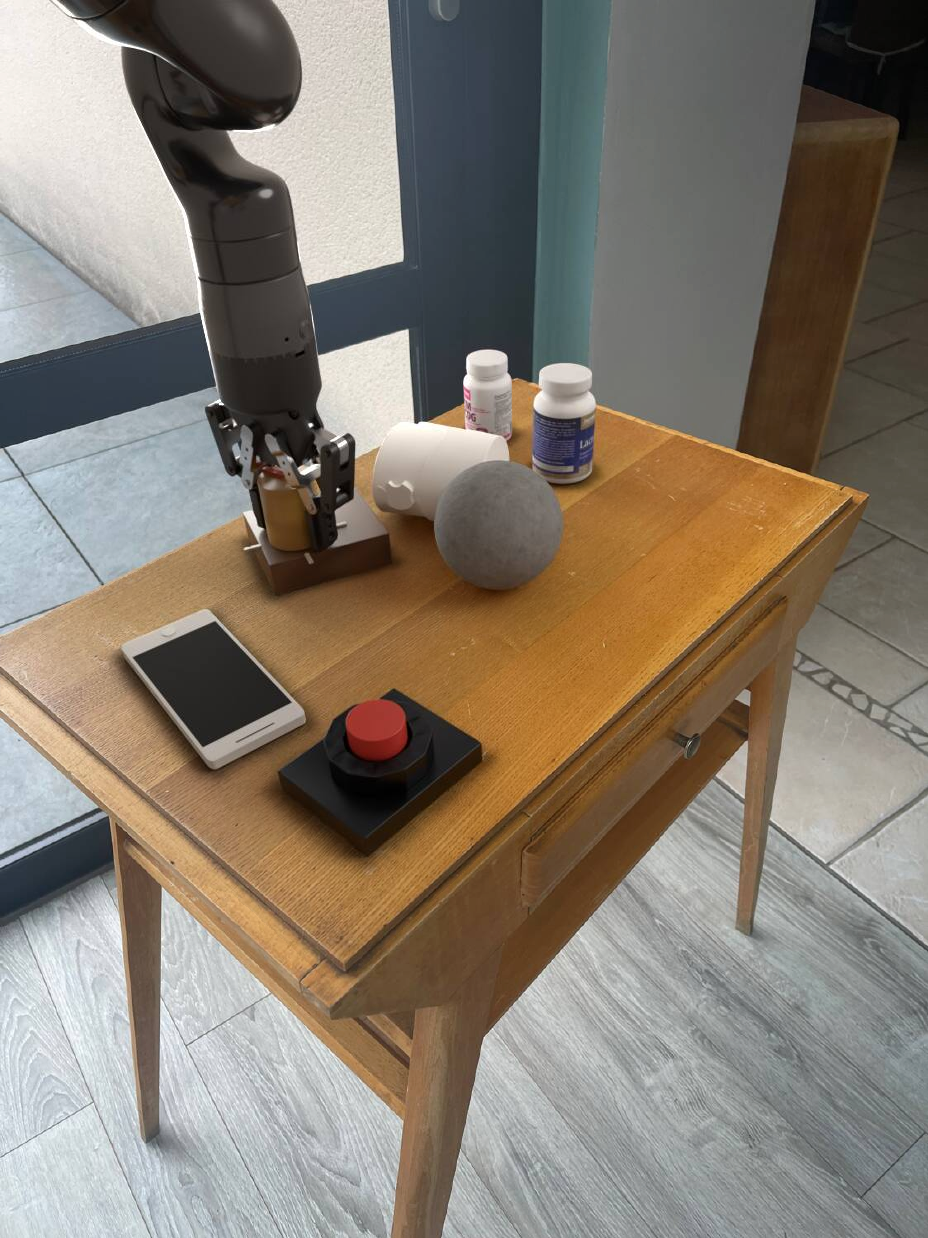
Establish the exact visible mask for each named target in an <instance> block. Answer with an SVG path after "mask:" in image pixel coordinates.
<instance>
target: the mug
mask: <svg viewBox="0 0 928 1238" xmlns="http://www.w3.org/2000/svg"><path fill="white" fill-rule="evenodd" d="M493 460H503V461H510V451H509V446H508V442H507V441H506V440H505V439H504V437H502V436H499V435H494V434H488V433H485V432H481V431H475V430H466V429H465V428H461V427H454V426H449V425H444V424H439V423H433V422H427V421H420V422H418V423H413V422H408V421H402V422H399V423H397V424H395V425H394V426H393V427H392V428H390V430H389V431H388V432H387V434H386V435H385V437H384V438H383V441H382V443H381V445H380V447H379V449H378V452H377V454H376V458H375V462H374V465H373V471H372V480H371V481H372V482H371V490H372V498H373V503H374V504H375V506H376V508H377V509H378V510H380V511H381V512H383V513H390V514H400V515H406V516H415V517H416V516H417V517H424V518H426V519H427V520H429V521H431V522H434V520H435V513H436V509H437V505H438V502H439V500H440V498H441V496H442V494H443V492H444V490H445V489H446V487H447V486H448V485H449V484H450V482H451V481H452V480H453V479H454V478H455V477H456V476H458V475H459V474H460V473H461V472H463V471H464V470H466V469H468V468H470V467H472V466H474V465H476V464H479V463H482V462H487V461H493Z"/></svg>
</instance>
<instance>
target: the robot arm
mask: <svg viewBox="0 0 928 1238" xmlns="http://www.w3.org/2000/svg"><path fill="white" fill-rule="evenodd" d="M48 1H49V2H50V3H52V4H53V5H54V6H55V7H56V8H57V9H58V10H60V12H62V13H63V14H64V15H66V16H67V17H68V18H69V19H70V20H71V21H72V22H73V23H74V24H76V25H77V26H79V28H82V29H83V30H84V31H85V32H87V33H89V34H90V35H92V36H93V37H95V38H97V39H99V40H101V41H104V42H106V43H109V44H112V45H117V46H121V47H120V52H121V53H120V55H121V68H122V75H123V79H124V84H125V87H126V91H127V94H128V98H129V99H130V103H131V105H132V108H133V110H134V112H135V115H136V118H137V120H138V122H139V124H140V126H141V128H142V131H143V133H144V134H145V136H146V139H147V141H148V142H149V145H150V147H151V149H152V151H153V153H154V155H155V158H156V159H157V161H158V164H159V166H160V168H161V171H162V172H163V175H164V177H165V179H166V181H167V183H168V185H169V187H170V189H171V191H172V193H173V194H174V197H175V199H176V201H177V203H178V205H179V207H180V210H181V211H182V215H183V219H184V223H185V230H186V234H187V235H186V236H187V239H188V243H189V244H188V245H189V248H190V254H191V258H192V262H193V267H194V272H195V276H196V283H197V291H198V293H197V294H198V304H199V305H198V306H199V312H200V317H201V321H202V327H203V331H204V335H205V339H206V344H207V350H208V353H209V359H210V362H211V367H212V371H213V372H212V373H213V377H214V381H215V386H216V390H217V395H218V398H219V399H218V400H217V401H214V402H213V403H210V404H208V405H206V406H205V407H204V413H205V416H206V419H207V421H208V425H209V427H210V430H211V434H212V435H213V438H214V443H215V444H216V447H217V451H218V453H219V456H220V458H221V462H222V465H223V467H224V470H225V472H226V473H227V475H228V476H230V477H236V476H238V477H239V478H240V479H241V483H242V485H243V486H244V488H245V489H246V490H248V493H249V499H250V503H251V508H252V510H253V513H254V515H255V517H256V520H257V525H258V527H260V528H263V529H265V530H267V528H266V523H265V518H264V513H263V508H262V503H261V498H260V493H259V488H258V483H257V480H258V477H259V476H260V474H261V473H262V469H263V468H264V467H266V466H268V467H271V468H272V467H275V466H278V467H279V468H281V469H282V471H283V473H284V476H285V478H286V480H287V482H288V484H289V486H290V487H292V488H296V489H297V491H298V493H299V495H300V497H301V499H302V501H303V504H304V506H305V508H306V510H307V511H306V512H305V516H306V522H307V528H308V533H309V539H310V545H311V549H313V550H315V551H317V552H322V551H324V550H325V549H327V548H328V547H330V546H331V545H333V544H334V543H335V541H336V540H337V538H338V531H337V525H336V517H335V511H336V510H337V509H338V508H340V507H341V506H343V505H344V504H346V503H348V502H350V501H351V500H353V499H354V486H355V479H356V478H355V474H356V445H357V444H356V440H355V437H354V436H353V435H352V434H351V433H349V432H345V433H343V434H341V435H340V436H338V435H336V434H335V433H333V432H331V431H328V429H327V430H326V429H325V424H324V422H323V420H322V418H321V416H320V413H319V411H318V409H317V407H318V406H317V404H318V399H319V397H320V393H321V391H322V387H323V380H322V373H321V367H320V360H319V354H318V346H317V339H316V331H315V325H314V319H313V312H312V305H311V304H312V303H311V299H310V294H309V290H308V286H307V282H306V279H305V276H304V272H303V267H302V263H301V255H300V249H299V242H298V241H299V240H298V234H297V228H296V221H295V214H294V207H293V203H292V198H291V194H290V190H289V187H288V185H287V183H286V182H285V180H284V178H283V177H282V176H280V175H279V174H278V173H276V172H274V171H272V170H269V169H268V168H265V167H264V166H263V167H262V166H261V165H258V164H255V163H253V162H251V161H249V160H247V159H246V158H244V156H242V155H240V153H239V152H238V151H237V149H236V147H235V145H234V143H233V141H232V139H231V138H230V135H229V133H228V132H242V133H243V132H244V133H245V132H246V133H253V132H254V133H255V132H261V131H267V130H270V129H273V128H275V127H277V126H279V125H280V124H282V123H283V122H284V121H285V120H286V119H287V118H288V117H289V116H290V115H291V113H292V112H293V111H294V109H295V108H296V106H297V103H298V101H299V99H300V95H301V91H302V85H303V69H302V68H303V67H302V58H301V53H300V49H299V46H298V42H297V40H296V37H295V35H294V33H293V30H292V28H291V26H290V24H289V22H288V20H287V19H286V17H285V15H284V14H283V12H282V11H281V10H280V7H278V5H277V4H276V3H275V1H274V0H48ZM236 444H237V446H238V448H239V451H240V453H239V455H238V456H236V455H235V452H234V450H233V447H234V446H235V445H236ZM309 461H311V465H310V466H308V469H306V470H304V471H303V472H301V473H300V472H299V470H298V467H300V466H302V465H304V466H305V464H307V463H309ZM313 480H315V483H316V485H317V487H318V489H319V492H317V494H316V495H315V494H314V492H313V489H312V487H311V482H312V481H313Z"/></svg>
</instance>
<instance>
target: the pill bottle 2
mask: <svg viewBox="0 0 928 1238" xmlns="http://www.w3.org/2000/svg"><path fill="white" fill-rule="evenodd" d="M538 375H539V376H538V386H539V388H540V391H539V392H537V394H536V395H535V397H534V399H533V405H532V406H533V407H532V456H531V457H532V458H531V461H532V462H531V463H532V464H531V465H532V470H534V471H535V472H536V473H538V474H539V475H540V476H542V477H543V478H544V479H545V481H546V482H547V483H551V484H557V485H570V484H576V483H578V482H582V481H583V480H586V478H588V477H589V476H590V475H591V473H592V472H593V464H594V463H593V461H594V445H595V426H596V413H597V412H596V410H597V404H596V399H595V396H594V395H593V393H592V392H590V391H589V390H591V387H592V385H593V384H592V382H593V373H592V370H591V369H590V368H588V367H586V366H584V365H582V364H578V363H577V364H576V363H572V362H571V363H570V362H567V363H566V362H559V363H552V364H549V365H546V366H544V367H543V368H541V369H540V370H539V374H538Z"/></svg>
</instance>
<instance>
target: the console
mask: <svg viewBox="0 0 928 1238" xmlns="http://www.w3.org/2000/svg"><path fill="white" fill-rule="evenodd" d="M242 516H243V520H244V525H245V529H246V535H247V539H248V542H249V544H250V545H249V546H246V547H243V551H244V552H249V551H253V552H254V555H255V556H256V559H257V560H258V563H259V564H260V567H261V569H262V570H263V573H264V574H265V576H266V578H267V581H268V583H269V584H270V587H271V589H272V590H273V593H274V595H275V596H281V595H285V594H288V593H291V592H295V591H299V590H301V589H306V588H309V587H312V586H317V585H320V584H323V583H327V582H331V581H335V580H337V579H341V578H345V577H348V576H352V575H356V574H359V573H362V572H366V571H369V570H373V569H377V568H380V567H384V566H387V565H391V564H393V557H392V556H393V555H392V547H391V538H390V532H389V531H388V529H387V528H386V527H385V525H384V524H383V523H382V521H381V520H380V519H379V517H378V516H377V514H376V513H375V512H374V510H373V509H372V508H371V506H370V505H369V503H367V501H366V500H365V498H364V497H363V496H362V494H361V493H360V491H359V490H358V489H357V487H356V486H355V485H354V499H353V500H351V501H350V502H348V503H346V504H344V505H343V506H341V507H340V508H338V509H337V510H336V511H335V517H336V525H337V531H338V538H337V540H336V541H335V543H334V544H333V545H331V546H330V547H328V548H327V549H325V550H324V551H322V552H317V551H315V550H313V549H311V547H309V548H307V549H303V550H299V551H283V550H279V549H276V548H275V547H273V546H272V545H271V544H270V542H269V538H268V533H267V530H265V529H263V528H260V527H258V525H257V520H256V517H255V515H254V513H253V509H250V510H247V511H242Z"/></svg>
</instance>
